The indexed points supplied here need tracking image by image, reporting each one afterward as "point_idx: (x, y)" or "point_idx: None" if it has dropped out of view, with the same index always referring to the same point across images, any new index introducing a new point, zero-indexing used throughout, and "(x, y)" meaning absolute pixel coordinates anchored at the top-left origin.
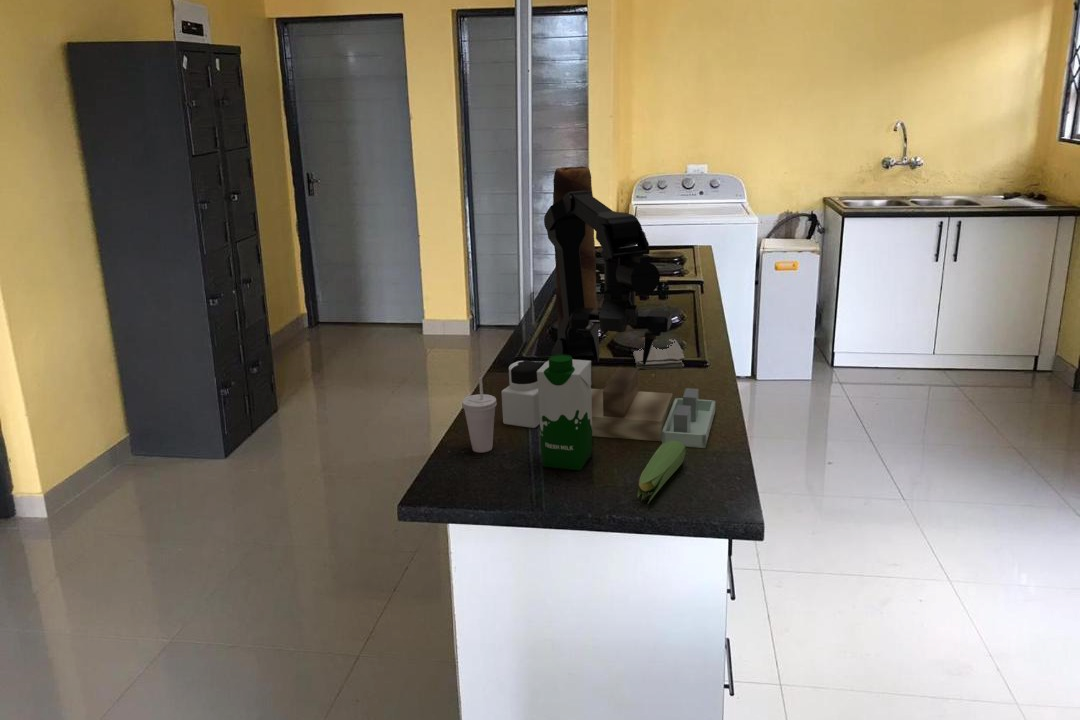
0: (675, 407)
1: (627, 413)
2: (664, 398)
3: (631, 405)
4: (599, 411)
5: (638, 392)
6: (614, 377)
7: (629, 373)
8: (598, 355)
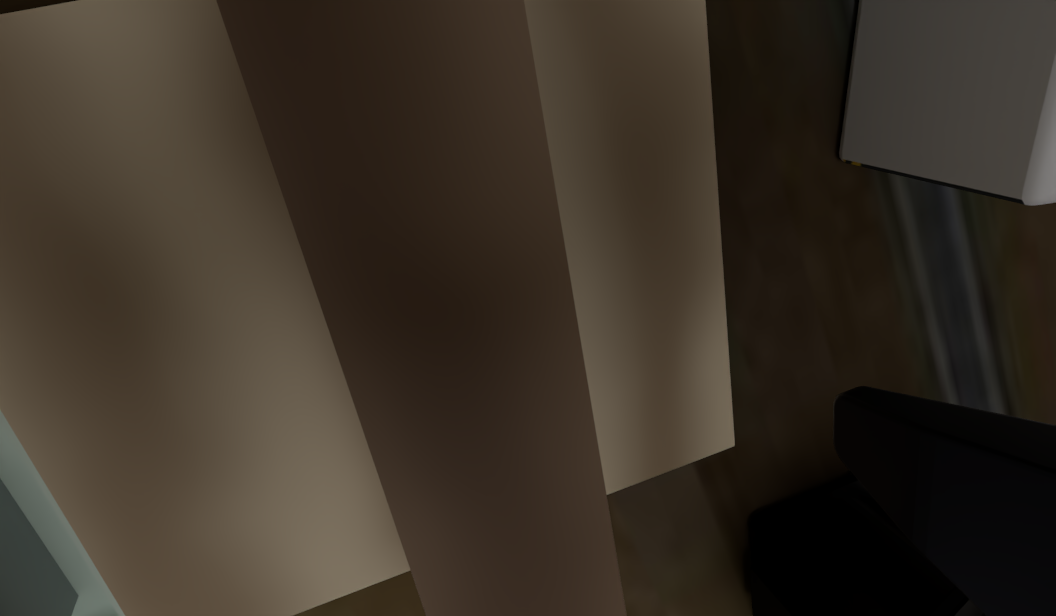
0: None
1: None
2: (156, 560)
3: None
4: None
5: None
6: (568, 427)
7: (476, 587)
8: (897, 474)
